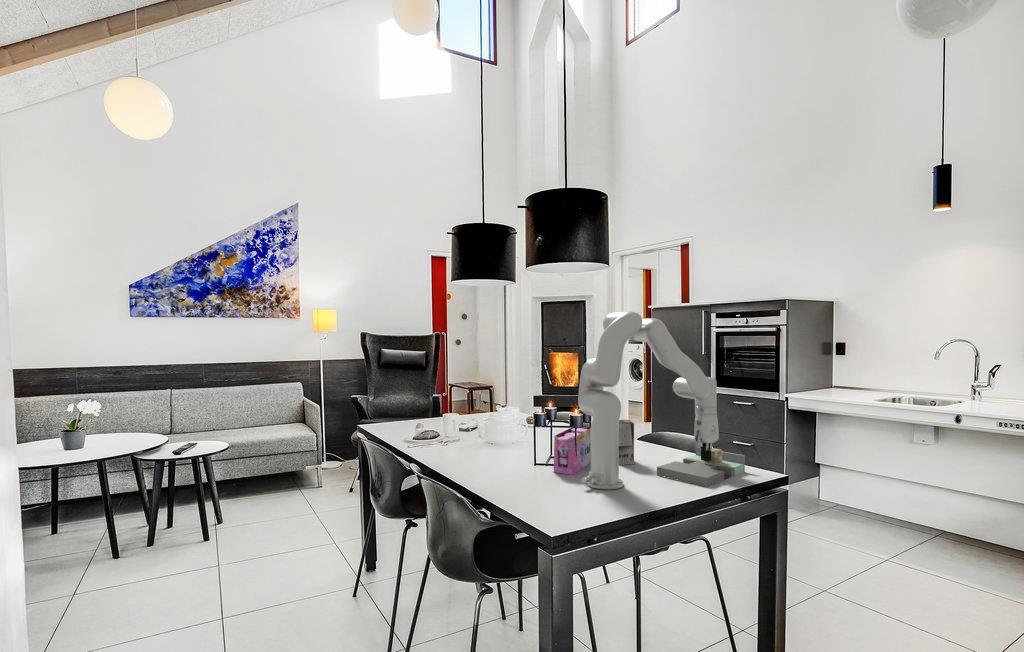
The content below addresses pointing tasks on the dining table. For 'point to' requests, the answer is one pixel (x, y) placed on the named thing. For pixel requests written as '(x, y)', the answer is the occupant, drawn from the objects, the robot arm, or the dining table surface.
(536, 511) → the dining table surface
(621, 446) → the coffee box
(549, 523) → the dining table surface
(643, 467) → the dining table surface
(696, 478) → the board
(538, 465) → the dining table surface
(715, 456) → the block
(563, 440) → the gum box
